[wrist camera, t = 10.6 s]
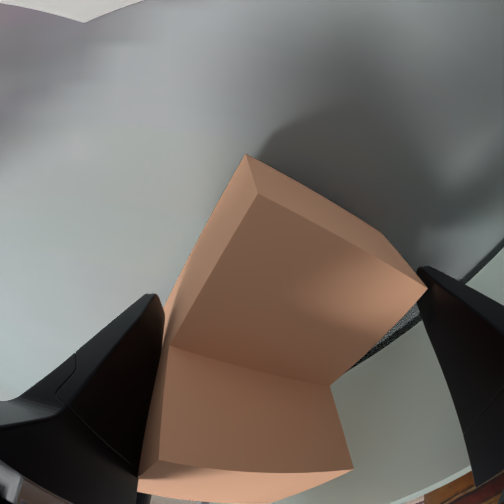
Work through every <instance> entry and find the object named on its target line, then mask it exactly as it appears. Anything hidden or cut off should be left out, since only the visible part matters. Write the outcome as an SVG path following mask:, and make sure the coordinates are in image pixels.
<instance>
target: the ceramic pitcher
mask: <svg viewBox="0 0 504 504" xmlns="http://www.w3.org/2000/svg"><path fill="white" fill-rule="evenodd" d="M503 489H504V472H503V473H502V474H500V475H498V476H497V477H495V478H493V479H491V480H490V481H488V482H486V483H484V484H482V485H481V486H479V487H477V488H476V487H475V483H474V478H473V474H472V471H470V472H468V473H466V474H465V475H463V476H461V477H459V478H457V479H455V480H453V481H452V482H450V483H448V484H446V485H444V486H442V487H440V488H437V489H435V490H433V491H431V492H429V493H427V494H424V504H497V503H498V501H499V499H500V496H501V494H502V492H503Z"/></svg>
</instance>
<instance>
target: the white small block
mask: <svg viewBox="0 0 504 504" xmlns="http://www.w3.org/2000/svg"><path fill="white" fill-rule="evenodd" d="M140 1H143V0H0V3H4V4H10V5H15V6H21V7H26V8H30V9H35V10H39V11H44V12H48V13H52V14H55V15H59V16H63V17H66V18H70V19H73V20H77V21H80V22H83V23H85V22H88V21H90V20H92V19H94V18H97V17H99V16H102V15H104V14H106V13H109V12H112V11H114V10H117V9H120V8H122V7H125V6H128V5H131V4H134V3H137V2H140ZM196 504H201V501H196Z"/></svg>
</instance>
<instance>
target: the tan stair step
mask: <svg viewBox="0 0 504 504" xmlns="http://www.w3.org/2000/svg"><path fill="white" fill-rule="evenodd" d="M427 289H428V288H427V287H426V285H425V284H424V283H423V282H422V280H421V279H420V278H419V277H418V275H417V274H416V273H415V272H414V270H413V269H412V268H411V267H410V266H409V264H408V263H407V262H406V261H405V260H404V258H403V257H402V256H401V255H400V254H399V252H398V251H397V250H396V249H395V248H394V247H393V245H392V244H391V243H390V242H389V241H388V240H387V239H386V237H385V236H384V235H383V234H382V233H381V232H379V231H378V230H376V229H375V228H373V227H372V226H370V225H369V224H367V223H365V222H364V221H362V220H361V219H359V218H357V217H356V216H354V215H353V214H351V213H349V212H348V211H346V210H345V209H343V208H341V207H340V206H338V205H336V204H335V203H333V202H331V201H330V200H328V199H326V198H325V197H323V196H321V195H320V194H318V193H316V192H315V191H313V190H311V189H309V188H308V187H306V186H304V185H302V184H301V183H299V182H297V181H295V180H294V179H292V178H290V177H288V176H286V175H285V174H283V173H281V172H279V171H277V170H275V169H274V168H272V167H270V166H268V165H266V164H264V163H262V162H260V161H259V160H257V159H255V158H253V157H251V156H249V155H247V154H245V155H244V157H243V159H242V161H241V162H240V164H239V166H238V168H237V169H236V171H235V173H234V175H233V176H232V178H231V180H230V182H229V183H228V185H227V187H226V189H225V191H224V192H223V194H222V196H221V198H220V200H219V201H218V203H217V205H216V207H215V209H214V211H213V212H212V214H211V216H210V218H209V220H208V222H207V224H206V225H205V227H204V229H203V231H202V233H201V235H200V237H199V239H198V241H197V242H196V244H195V246H194V248H193V250H192V252H191V254H190V256H189V258H188V260H187V262H186V264H185V266H184V268H183V270H182V272H181V274H180V276H179V278H178V280H177V282H176V284H175V286H174V288H173V290H172V292H171V294H170V296H169V298H168V300H167V302H166V304H165V306H164V308H163V310H164V313H165V325H164V334H163V343H162V351H161V356H160V361H159V365H158V370H157V374H156V379H155V384H154V388H153V393H152V398H151V403H150V408H149V413H148V418H147V424H146V429H145V435H144V440H143V446H142V452H141V458H140V464H139V470H138V477H137V478H138V479H139V481H138V488H137V492H141V493H146V494H151V495H157V496H163V497H169V498H176V499H184V500H192V501H202V502H215V503H236V504H266V503H272V502H275V501H278V500H281V499H284V498H287V497H290V496H293V495H295V494H298V493H301V492H303V491H306V490H308V489H311V488H313V487H316V486H318V485H321V484H323V483H325V482H328V481H330V480H332V479H334V478H337V477H339V476H341V475H343V474H345V473H347V472H349V471H351V470H353V469H354V467H353V464H352V460H351V456H350V453H349V449H348V446H347V442H346V439H345V435H344V432H343V428H342V425H341V422H340V418H339V415H338V411H337V408H336V405H335V401H334V398H333V395H332V392H331V388H330V385H331V384H333V383H334V382H335V381H336V380H337V379H338V378H340V377H341V376H342V375H343V374H344V373H345V372H346V371H348V370H349V369H350V368H351V367H352V366H353V365H354V364H355V363H356V362H358V361H359V360H360V359H361V358H362V357H363V356H364V355H365V354H366V353H367V352H368V351H369V350H370V349H371V348H372V347H373V346H374V345H376V344H377V343H378V342H379V341H380V340H381V339H382V338H383V337H384V336H385V335H386V334H387V333H388V332H389V331H390V330H391V329H392V328H393V326H394V325H395V324H396V323H397V322H398V321H399V320H400V319H401V318H402V317H403V316H404V315H405V314H406V313H407V312H408V311H409V309H410V308H411V307H412V306H413V305H414V304H415V303H416V302H417V301H418V299H419V298H420V297H421V296H422V295H423V294H424V293H425V291H426V290H427Z"/></svg>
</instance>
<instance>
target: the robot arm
mask: <svg viewBox="0 0 504 504" xmlns="http://www.w3.org/2000/svg"><path fill="white" fill-rule="evenodd" d="M416 274H417V275H418V277H419V278H420V279H421V280H422V282H423V283H424V284H425V285H426V287H427V288H428V289H427V290H426V291H425V293H424V294H423V295H422V296H421V297H420V298H419V299H418V301H417V305H418V308H419V311H420V314H421V317H422V321H423V324H424V327H425V330H426V332H427V335H428V337H429V339H430V342H431V344H432V347H433V349H434V352H435V354H436V357H437V359H438V362H439V364H440V367H441V369H442V372H443V375H444V377H445V380H446V383H447V386H448V389H449V392H450V394H451V397H452V400H453V403H454V406H455V410H456V413H457V416H458V419H459V423H460V426H461V429H462V433H463V437H464V441H465V444H466V448H467V452H468V456H469V460H470V465H471V469H472V474H473V478H474V483H475V487H476V488H477V487H479V486H481V485H482V484H484V483H486V482H488V481H490V480H491V479H493V478H495V477H497V476H498V475H500V474H502V473H503V472H504V305H502V304H500V303H498V302H496V301H495V300H493V299H491V298H489V297H487V296H486V295H484V294H482V293H480V292H478V291H477V290H475V289H473V288H471V287H469V286H467V285H465V284H463V283H462V282H460V281H458V280H456V279H454V278H452V277H450V276H448V275H446V274H444V273H442V272H440V271H438V270H436V269H434V268H432V267H430V266H422V267H419V268H418V269H417V271H416ZM164 325H165V313H164V310H163V307H162V304H161V302H160V299H159V297H158V295H157V294H145V295H143V296H142V297H141V298H140V299H139V300H137V301H136V302H135V303H134V304H132V305H131V306H130V307H129V308H128V309H126V310H125V311H124V312H123V313H121V314H120V315H119V316H118V317H117V318H115V319H114V320H113V321H112V322H111V323H109V324H108V325H107V326H106V327H105V328H103V329H102V330H101V331H100V332H99V333H97V334H96V335H95V336H94V337H93V338H92V339H90V340H89V341H88V342H87V343H86V344H84V345H83V346H82V347H81V348H80V349H79V350H77V351H76V354H75V353H74V354H73V355H72V356H70V357H69V358H68V359H67V360H66V361H65V362H63V363H62V364H61V365H60V366H59V367H57V368H56V369H55V370H54V371H52V372H51V373H50V374H48V375H47V376H46V377H44V378H43V379H42V380H40V381H39V382H38V383H36V384H35V385H34V386H32V387H31V388H30V389H28V390H27V391H26V392H24V393H23V394H22V395H20V396H19V397H17V398H15V399H12V400H8V401H0V504H150V500H151V494H146V493H141V492H137V488H138V481H139V479H138V478H137V477H138V470H139V464H140V458H141V452H142V446H143V440H144V435H145V429H146V424H147V418H148V413H149V408H150V403H151V398H152V393H153V388H154V384H155V379H156V374H157V370H158V365H159V361H160V356H161V351H162V343H163V334H164ZM497 504H504V489H503V492H502V494H501V496H500V499H499V501H498V503H497Z"/></svg>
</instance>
